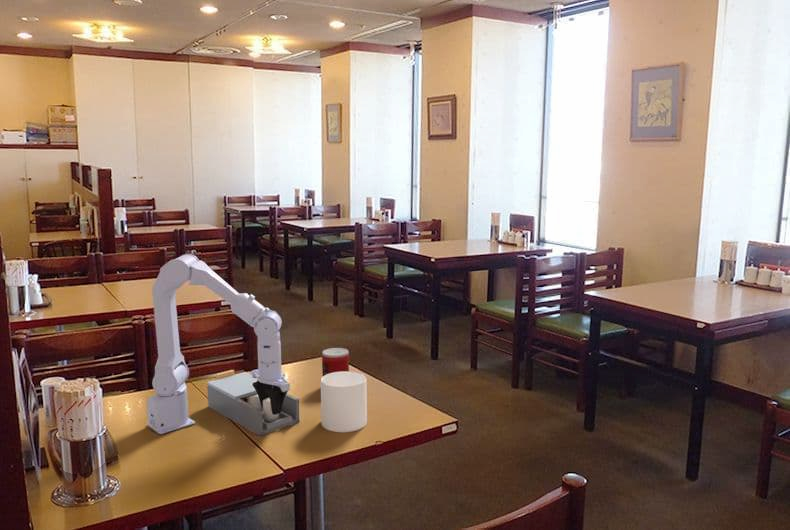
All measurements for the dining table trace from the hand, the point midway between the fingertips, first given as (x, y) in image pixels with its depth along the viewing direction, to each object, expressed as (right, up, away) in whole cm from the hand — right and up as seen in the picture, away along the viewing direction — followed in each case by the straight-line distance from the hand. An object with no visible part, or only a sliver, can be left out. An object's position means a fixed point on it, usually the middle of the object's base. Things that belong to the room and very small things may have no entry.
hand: (271, 410), depth 162 cm
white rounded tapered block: (-5, -3, +6) cm, 8 cm away
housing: (-6, -3, +7) cm, 10 cm away
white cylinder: (+18, -4, +2) cm, 19 cm away
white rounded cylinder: (0, -2, 0) cm, 2 cm away
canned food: (+14, +1, +28) cm, 31 cm away
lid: (-11, +4, +10) cm, 16 cm away
